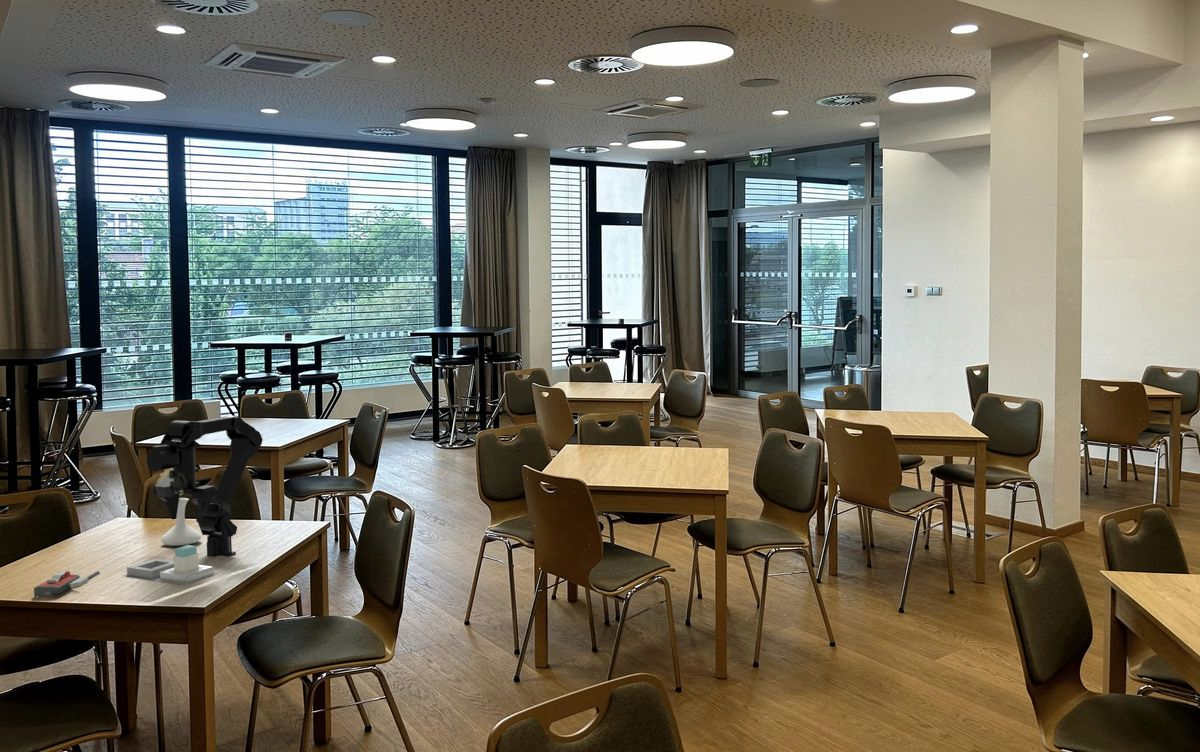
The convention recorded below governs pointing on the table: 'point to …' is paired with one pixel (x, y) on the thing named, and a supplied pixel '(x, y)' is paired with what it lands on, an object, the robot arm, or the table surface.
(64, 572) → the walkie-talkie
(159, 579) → the station board
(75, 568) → the table surface
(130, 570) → the grey square socket frame
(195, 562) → the plug
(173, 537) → the flower in vase
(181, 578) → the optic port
